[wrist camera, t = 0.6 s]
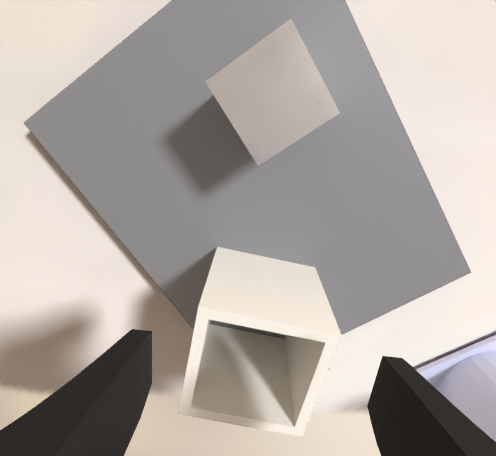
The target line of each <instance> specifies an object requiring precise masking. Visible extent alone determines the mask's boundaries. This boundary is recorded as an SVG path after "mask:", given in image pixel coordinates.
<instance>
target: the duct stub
mask: <svg viewBox="0 0 496 456" xmlns="http://www.w3.org/2000/svg"><path fill="white" fill-rule="evenodd" d="M205 82H206V84H207V85H208V87H209V89H210V90H211V92H212V93H213V95H214V97H215V98H216V100H217V101H218V103H219V105H220V106H221V108H222V109H223V111H224V113H225V114H226V116H227V117H228V119H229V121H230V122H231V124H232V125H233V127H234V129H235V130H236V132H237V133H238V135H239V137H240V138H241V140H242V141H243V143H244V145H245V146H246V148H247V149H248V151H249V152H250V154H251V156H252V157H253V159H254V160H255V162H256V164H257V165H258V166H259V165H260V164H262V163H263V162H265V161H266V160H268V159H269V158H271V157H273V156H274V155H276V154H277V153H279V152H280V151H282V150H283V149H285V148H287V147H288V146H290V145H291V144H293V143H294V142H296V141H297V140H299V139H301V138H302V137H304V136H305V135H307V134H308V133H310V132H312V131H313V130H315V129H316V128H318V127H319V126H321V125H322V124H324V123H326V122H327V121H329V120H330V119H332V118H333V117H335V116H336V115H338V114H340V112H339V110H338V108H337V106H336V104H335V102H334V100H333V98H332V96H331V94H330V93H329V91H328V89H327V87H326V85H325V83H324V81H323V79H322V77H321V75H320V73H319V71H318V69H317V67H316V65H315V64H314V62H313V60H312V58H311V56H310V54H309V52H308V50H307V48H306V46H305V44H304V42H303V40H302V38H301V36H300V35H299V33H298V31H297V29H296V27H295V25H294V23H293V21H292V19H289V20H288V21H287V22H285V23H284V24H283V25H281V26H280V27H279V28H277V29H276V30H275V31H273V32H272V33H270V34H269V35H268V36H266V37H265V38H264V39H262V40H261V41H260V42H258V43H257V44H256V45H254V46H253V47H251V48H250V49H249V50H247V51H246V52H245V53H243V54H242V55H241V56H239V57H238V58H237V59H235V60H234V61H232V62H231V63H230V64H228V65H227V66H226V67H224V68H223V69H222V70H220V71H219V72H218V73H216V74H215V75H213V76H212V77H211V78H209V79H208V80H207V81H205Z"/></svg>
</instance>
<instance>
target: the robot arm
mask: <svg viewBox="0 0 496 456" xmlns="http://www.w3.org/2000/svg"><path fill="white" fill-rule="evenodd" d="M151 384H152V331H144V330H135V329H132V330H131V331H129V332H128V333H127V334H126V335H124V336H123V337H122V338H121V339H120V340H119V341H117V342H116V343H115V344H114V345H113V346H112V347H110V348H109V349H108V350H107V351H106V352H105V353H103V354H102V355H101V356H100V357H99V358H97V359H96V360H95V361H94V362H93V363H91V364H90V365H89V366H88V367H86V368H85V369H84V370H83V371H82V372H80V373H79V374H78V375H77V376H75V377H74V378H73V379H72V380H70V381H69V382H68V383H66V384H65V385H64V386H62V387H61V388H60V389H58V390H57V391H56V392H54V393H53V394H52V395H50V396H49V397H48V398H46V399H45V400H44V401H42V402H41V403H40V404H38V405H37V406H36V407H34V408H33V409H31V410H30V411H28V412H27V413H26V414H24V415H23V416H22V417H20V418H18V419H17V420H15V421H14V422H13V423H11V424H9V425H8V426H6V427H5V428H3V429H2V430H0V456H124V454H125V451H126V449H127V447H128V445H129V442H130V440H131V438H132V436H133V433H134V431H135V429H136V427H137V424H138V422H139V420H140V417H141V414H142V411H143V409H144V406H145V402H146V399H147V396H148V393H149V390H150V387H151ZM368 410H369V415H370V419H371V423H372V427H373V431H374V434H375V438H376V442H377V445H378V447H379V450H380V453H381V456H496V335H494V336H491V337H489V338H487V339H485V340H482V341H480V342H478V343H475V344H473V345H471V346H468V347H466V348H464V349H461V350H459V351H457V352H454V353H452V354H450V355H448V356H445V357H443V358H441V359H438V360H436V361H434V362H431V363H429V364H427V365H424V366H422V367H420V368H418V369H414V368H413V367H412V366H411V365H410V364H408V363H407V362H406V361H405V360H404V359H403V358H395V357H386V356H383V357H382V360H381V363H380V366H379V370H378V373H377V376H376V380H375V383H374V386H373V389H372V393H371V396H370V399H369V402H368Z"/></svg>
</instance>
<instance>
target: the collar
mask: <svg viewBox="0 0 496 456" xmlns="http://www.w3.org/2000/svg"><path fill="white" fill-rule="evenodd" d="M211 320H215V321H220V322H225V323H230V324H235V325H240V326H245V327H250V328H255V329H260V330H265V331H270V332H275V333H280V334H285V338H284V339H282V338H277V337H272V336H267V335H262V334H257V333H252V332H247V331H242V330H237V329H232V328H227V327H222V326H217V325H212V324H210V322H211ZM340 338H341V332H340V330H339V327H338V325H337V322H336V319H335V317H334V314H333V312H332V309H331V307H330V304H329V301H328V299H327V296H326V294H325V291H324V289H323V286H322V283H321V281H320V278H319V276H318V273H317V271H316V268H315V267H311V266H306V265H302V264H297V263H292V262H287V261H283V260H278V259H273V258H268V257H264V256H259V255H254V254H249V253H245V252H240V251H235V250H230V249H226V248H221V247H217V249H216V252H215V255H214V259H213V262H212V265H211V268H210V271H209V274H208V277H207V281H206V284H205V287H204V290H203V293H202V296H201V299H200V303H199V306H198V311H197V316H196V321H195V326H194V332H193V337H192V342H191V348H190V353H189V358H188V363H187V369H186V374H185V379H184V385H183V390H182V395H181V400H180V406H179V411H178V414H182V415H187V416H192V417H198V418H203V419H209V420H214V421H219V422H225V423H230V424H235V425H241V426H247V427H252V428H257V429H263V430H268V431H273V432H279V433H284V434H290V435H295V436H301V437H303V434H304V432H305V429H306V426H307V424H308V421H309V419H310V416H311V413H312V411H313V408H314V406H315V403H316V400H317V398H318V395H319V393H320V390H321V387H322V385H323V382H324V380H325V377H326V374H327V372H328V369H329V367H330V364H331V361H332V359H333V356H334V354H335V351H336V348H337V346H338V343H339V341H340Z"/></svg>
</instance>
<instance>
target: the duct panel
mask: <svg viewBox="0 0 496 456" xmlns="http://www.w3.org/2000/svg"><path fill="white" fill-rule="evenodd" d="M289 19H292V21H293V23H294V25H295V27H296V29H297V31H298V33H299V35H300V36H301V38H302V40H303V42H304V44H305V46H306V48H307V50H308V52H309V54H310V56H311V58H312V60H313V62H314V64H315V65H316V67H317V69H318V71H319V73H320V75H321V77H322V79H323V81H324V83H325V85H326V87H327V89H328V91H329V93H330V94H331V96H332V98H333V100H334V102H335V104H336V106H337V108H338V110H339V112H340V114H338V115H336V116H335V117H333V118H332V119H330V120H329V121H327V122H326V123H324V124H322V125H321V126H319V127H318V128H316V129H315V130H313V131H312V132H310V133H308V134H307V135H305V136H304V137H302V138H301V139H299V140H297V141H296V142H294V143H293V144H291V145H290V146H288V147H287V148H285V149H283V150H282V151H280V152H279V153H277V154H276V155H274V156H273V157H271V158H269V159H268V160H266V161H265V162H263V163H262V164H260V165H259V166H258V165H257V164H256V162H255V160H254V159H253V157H252V156H251V154H250V152H249V151H248V149H247V148H246V146H245V145H244V143H243V141H242V140H241V138H240V137H239V135H238V133H237V132H236V130H235V129H234V127H233V125H232V124H231V122H230V121H229V119H228V117H227V116H226V114H225V113H224V111H223V109H222V108H221V106H220V105H219V103H218V101H217V100H216V98H215V97H214V95H213V93H212V92H211V90H210V89H209V87H208V85H207V84H206V82H205V81H207V80H208V79H209V78H211V77H212V76H213V75H215V74H216V73H218V72H219V71H220V70H222V69H223V68H224V67H226V66H227V65H228V64H230V63H231V62H232V61H234V60H235V59H237V58H238V57H239V56H241V55H242V54H243V53H245V52H246V51H247V50H249V49H250V48H251V47H253V46H254V45H256V44H257V43H258V42H260V41H261V40H262V39H264V38H265V37H266V36H268V35H269V34H270V33H272V32H273V31H275V30H276V29H277V28H279V27H280V26H281V25H283V24H284V23H285V22H287V21H288V20H289ZM24 124H25V125H26V126H27V128H28V129H29V130H30V131H31V132H32V134H33V135H34V136H35V137H36V138H37V140H38V141H39V142H40V143H41V145H42V146H43V147H44V148H45V149H46V151H47V152H48V153H49V154H50V155H51V157H52V158H53V159H54V160H55V162H56V163H57V164H58V165H59V166H60V168H61V169H62V170H63V171H64V172H65V174H66V175H67V176H68V177H69V179H70V180H71V181H72V182H73V183H74V185H75V186H76V187H77V188H78V189H79V191H80V192H81V193H82V194H83V195H84V197H85V198H86V199H87V200H88V202H89V203H90V204H91V205H92V206H93V208H94V209H95V210H96V211H97V212H98V214H99V215H100V216H101V217H102V219H103V220H104V221H105V222H106V223H107V225H108V226H109V227H110V228H111V229H112V231H113V232H114V233H115V234H116V236H117V237H118V238H119V239H120V240H121V242H122V243H123V244H124V245H125V246H126V248H127V249H128V250H129V251H130V253H131V254H132V255H133V256H134V257H135V259H136V260H137V261H138V262H139V263H140V265H141V266H142V267H143V268H144V270H145V271H146V272H147V273H148V274H149V276H150V277H151V278H152V279H153V280H154V282H155V283H156V284H157V285H158V287H159V288H160V289H161V290H162V291H163V293H164V294H165V295H166V296H167V297H168V299H169V300H170V301H171V302H172V303H173V305H174V306H175V307H176V308H177V310H178V311H179V312H180V313H181V314H182V316H183V317H184V318H185V319H186V320H187V322H188V323H189V324H190V325H191V327H192V328H193V329H194V326H195V321H196V316H197V311H198V306H199V303H200V299H201V296H202V293H203V290H204V287H205V284H206V281H207V277H208V274H209V271H210V268H211V265H212V262H213V259H214V255H215V252H216V249H217V247H221V248H226V249H230V250H235V251H240V252H245V253H249V254H254V255H259V256H264V257H268V258H273V259H278V260H283V261H287V262H292V263H297V264H302V265H306V266H311V267H315V268H316V271H317V273H318V276H319V278H320V281H321V283H322V286H323V289H324V291H325V294H326V296H327V299H328V301H329V304H330V307H331V309H332V312H333V314H334V317H335V319H336V322H337V325H338V327H339V330H340V332H341V335H342V334H344V333H346V332H348V331H351V330H353V329H355V328H357V327H359V326H361V325H363V324H365V323H367V322H369V321H371V320H373V319H375V318H378V317H380V316H382V315H384V314H386V313H388V312H390V311H392V310H394V309H396V308H398V307H400V306H402V305H405V304H407V303H409V302H411V301H413V300H415V299H417V298H419V297H421V296H423V295H425V294H427V293H430V292H432V291H434V290H436V289H438V288H440V287H442V286H444V285H446V284H448V283H450V282H452V281H454V280H457V279H459V278H461V277H463V276H465V275H467V274H469V273H471V271H470V269H469V267H468V264H467V262H466V260H465V258H464V256H463V254H462V252H461V249H460V247H459V245H458V243H457V241H456V239H455V236H454V234H453V232H452V230H451V228H450V226H449V223H448V221H447V219H446V217H445V215H444V213H443V211H442V208H441V206H440V204H439V202H438V200H437V198H436V195H435V193H434V191H433V189H432V187H431V185H430V182H429V180H428V178H427V176H426V174H425V172H424V170H423V167H422V165H421V163H420V161H419V159H418V157H417V154H416V152H415V150H414V148H413V146H412V144H411V141H410V139H409V137H408V135H407V133H406V131H405V129H404V126H403V124H402V122H401V120H400V118H399V116H398V113H397V111H396V109H395V107H394V105H393V103H392V100H391V98H390V96H389V94H388V92H387V90H386V87H385V85H384V83H383V81H382V79H381V77H380V75H379V72H378V70H377V68H376V66H375V64H374V62H373V59H372V57H371V55H370V53H369V51H368V49H367V46H366V44H365V42H364V40H363V38H362V36H361V34H360V31H359V29H358V27H357V25H356V23H355V21H354V18H353V16H352V14H351V12H350V10H349V8H348V5H347V3H346V1H345V0H172V1H171V2H169V3H168V4H167V5H166V6H165V7H163V8H162V9H161V10H160V11H158V12H157V13H156V14H155V15H154V16H152V17H151V18H150V19H149V20H148V21H146V22H145V23H144V24H143V25H141V26H140V27H139V28H138V29H137V30H135V31H134V32H133V33H132V34H131V35H129V36H128V37H127V38H126V39H125V40H123V41H122V42H121V43H120V44H118V45H117V46H116V47H115V48H114V49H112V50H111V51H110V52H109V53H108V54H106V55H105V56H104V57H103V58H101V59H100V60H99V61H98V62H97V63H95V64H94V65H93V66H92V67H91V68H89V69H88V70H87V71H86V72H84V73H83V74H82V75H81V76H80V77H78V78H77V79H76V80H75V81H74V82H72V83H71V84H70V85H69V86H68V87H66V88H65V89H64V90H63V91H61V92H60V93H59V94H58V95H57V96H55V97H54V98H53V99H52V100H51V101H49V102H48V103H47V104H46V105H44V106H43V107H42V108H41V109H40V110H38V111H37V112H36V113H35V114H34V115H32V116H31V117H30V118H29V119H27V120H26V121H25V122H24ZM210 324H212V325H217V326H222V327H227V328H232V329H237V330H242V331H247V332H252V333H257V334H262V335H267V336H272V337H277V338H282V339H284V338H285V334H280V333H275V332H270V331H265V330H260V329H255V328H250V327H245V326H240V325H235V324H230V323H225V322H220V321H215V320H211V322H210Z"/></svg>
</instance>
